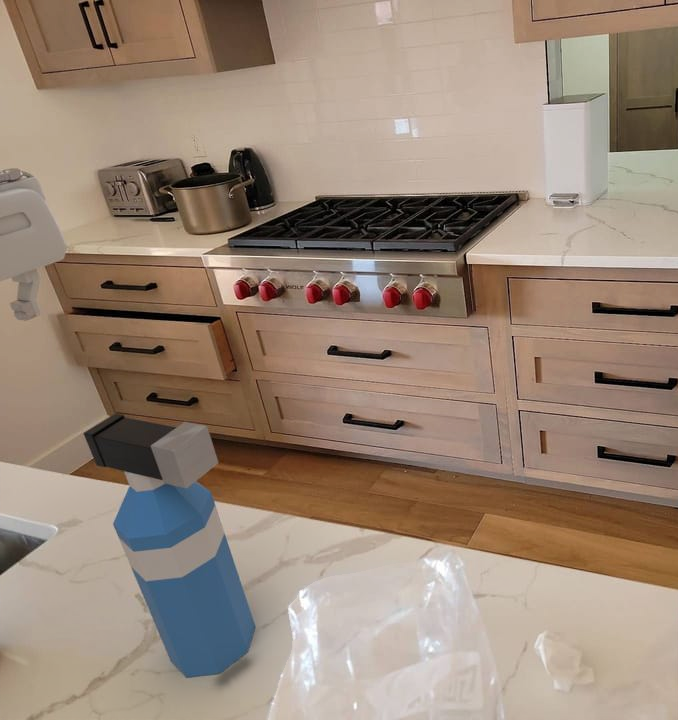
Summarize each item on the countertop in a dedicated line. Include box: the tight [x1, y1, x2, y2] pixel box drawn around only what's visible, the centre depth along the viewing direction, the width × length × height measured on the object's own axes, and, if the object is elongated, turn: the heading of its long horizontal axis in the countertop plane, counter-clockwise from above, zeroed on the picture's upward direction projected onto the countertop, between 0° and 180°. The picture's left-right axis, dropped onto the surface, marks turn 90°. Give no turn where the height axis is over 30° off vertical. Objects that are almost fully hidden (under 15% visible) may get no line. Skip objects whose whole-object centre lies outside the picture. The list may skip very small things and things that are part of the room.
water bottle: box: [112, 471, 256, 679], centre depth 72 cm, size 9×9×25 cm
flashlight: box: [83, 412, 219, 488], centre depth 65 cm, size 12×4×4 cm, turn 67°
